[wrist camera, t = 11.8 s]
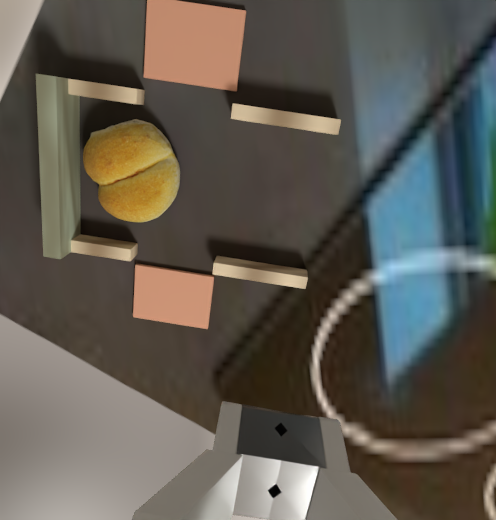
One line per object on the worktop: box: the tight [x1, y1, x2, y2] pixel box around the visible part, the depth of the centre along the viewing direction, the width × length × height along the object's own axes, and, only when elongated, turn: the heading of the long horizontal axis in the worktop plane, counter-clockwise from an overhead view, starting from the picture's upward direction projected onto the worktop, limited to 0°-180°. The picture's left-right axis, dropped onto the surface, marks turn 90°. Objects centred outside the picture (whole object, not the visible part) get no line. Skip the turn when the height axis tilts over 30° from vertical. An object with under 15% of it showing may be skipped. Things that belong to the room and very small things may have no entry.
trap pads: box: [133, 0, 246, 329], centre depth 37 cm, size 8×29×1 cm, turn 172°
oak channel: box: [36, 74, 341, 289], centre depth 36 cm, size 24×15×4 cm, turn 82°
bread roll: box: [83, 119, 180, 222], centre depth 36 cm, size 8×9×4 cm
